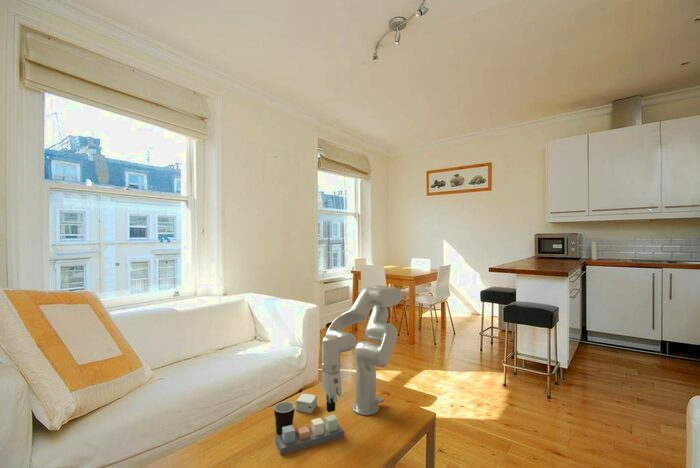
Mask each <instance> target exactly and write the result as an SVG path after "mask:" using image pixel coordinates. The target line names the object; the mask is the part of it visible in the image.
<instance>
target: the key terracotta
mask: <svg viewBox="0 0 700 468" xmlns="http://www.w3.org/2000/svg"><path fill="white" fill-rule="evenodd" d="M308 428H309V427H308V426H307V425H305V426H300V427H297V428H296V431H297V437H298V439H299V440H303V439H307V438H310V431H309V429H308Z"/></svg>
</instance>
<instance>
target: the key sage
mask: <svg viewBox="0 0 700 468" xmlns="http://www.w3.org/2000/svg"><path fill="white" fill-rule="evenodd" d="M338 421H339V419H338V418H337V417H336V415H335V414H331V415H327V416H324V424H325V429H326V430H327V432H328V433H329V432H332V431H336V430H337V425H338V424H339V423H338Z"/></svg>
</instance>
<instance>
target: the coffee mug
mask: <svg viewBox="0 0 700 468" xmlns="http://www.w3.org/2000/svg"><path fill="white" fill-rule="evenodd" d="M273 411H274V412H273V413H274V419H275V420H274V422H275V432H276V435H277V436H280V435H282V427H285V426H289V425H294V416H295V411H296V405H295V403H293V402H291V401H281V402H278V403H276V404H275V405H274V408H273Z"/></svg>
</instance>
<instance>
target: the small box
mask: <svg viewBox="0 0 700 468" xmlns="http://www.w3.org/2000/svg"><path fill="white" fill-rule="evenodd" d="M295 404H296V405H295V411H296V412H301V413H306V414H307V413H308V414H312V413H313V412H314V410H315V409H316V407H317V406H318V405H317V404H318V395H317V394H316V395H315V394H312V393H302V394H301V395H300V396H299V397H298V398H297V399H296V403H295Z"/></svg>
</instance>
